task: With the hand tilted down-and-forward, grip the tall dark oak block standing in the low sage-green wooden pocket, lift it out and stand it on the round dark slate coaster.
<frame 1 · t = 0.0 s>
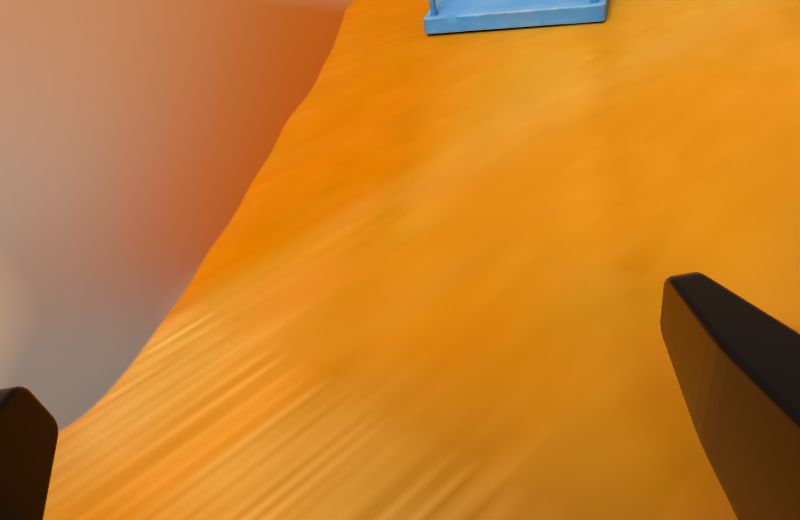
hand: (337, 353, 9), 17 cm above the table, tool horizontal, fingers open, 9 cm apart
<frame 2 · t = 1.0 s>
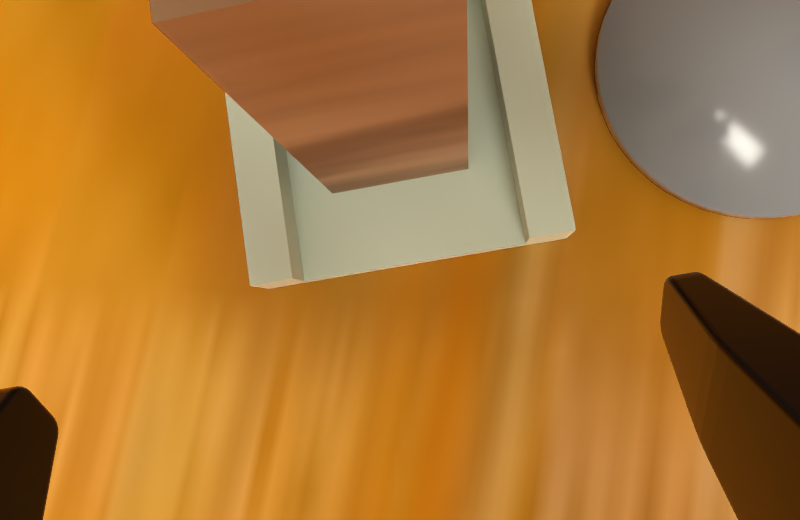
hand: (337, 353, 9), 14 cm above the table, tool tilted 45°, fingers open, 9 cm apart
oak block: (389, 115, 23), resting on pocket
slate coaster: (754, 65, 22), on the table
pocket: (390, 119, 23), on the table
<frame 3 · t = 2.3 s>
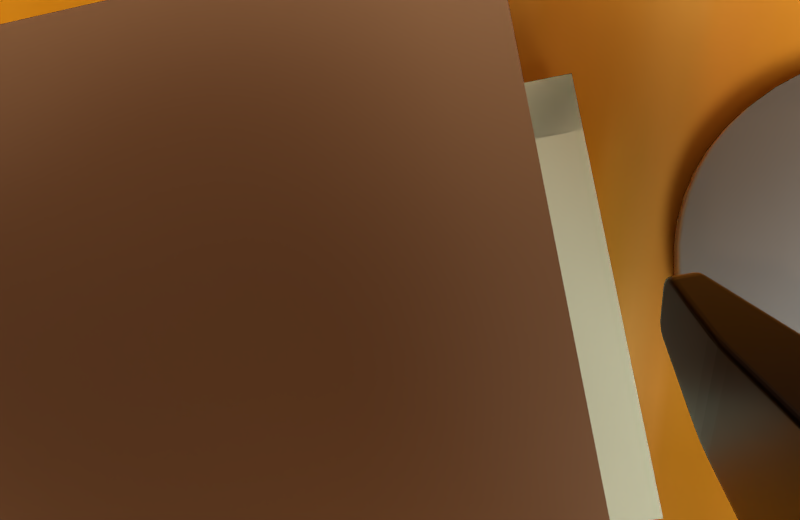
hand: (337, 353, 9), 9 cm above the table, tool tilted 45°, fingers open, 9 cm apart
oak block: (401, 323, 17), resting on pocket
pocket: (402, 323, 18), on the table
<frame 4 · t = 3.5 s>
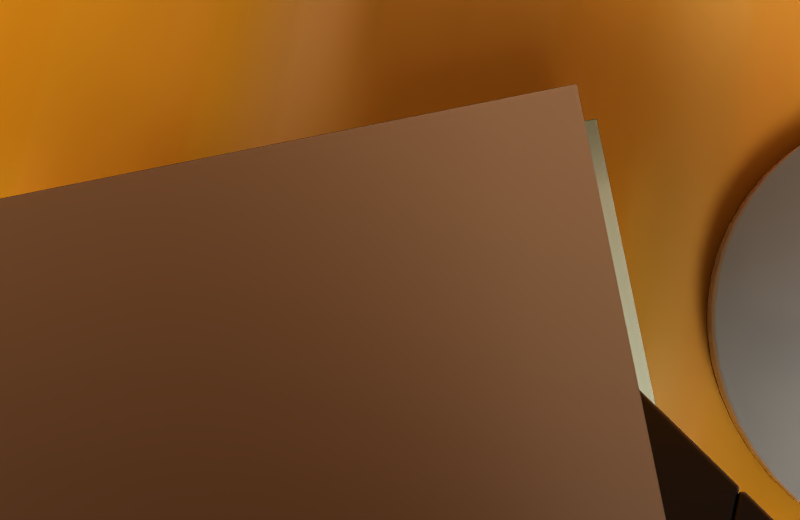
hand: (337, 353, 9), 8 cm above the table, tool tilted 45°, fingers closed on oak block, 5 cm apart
oak block: (405, 391, 15), resting on pocket, touching gripper
pocket: (407, 389, 16), on the table
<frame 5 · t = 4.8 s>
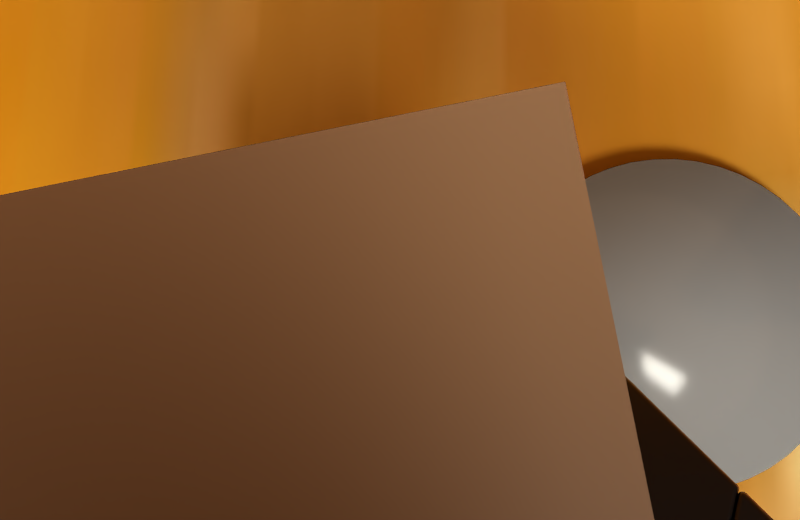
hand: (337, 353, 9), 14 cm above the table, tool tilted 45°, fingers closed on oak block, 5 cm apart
oak block: (403, 391, 15), point 6 cm above the table, touching gripper
slate coaster: (662, 321, 21), on the table
when the fingers open (8 cm above the table, at t = 6.5 s): oak block stays where it is, resting on slate coaster.
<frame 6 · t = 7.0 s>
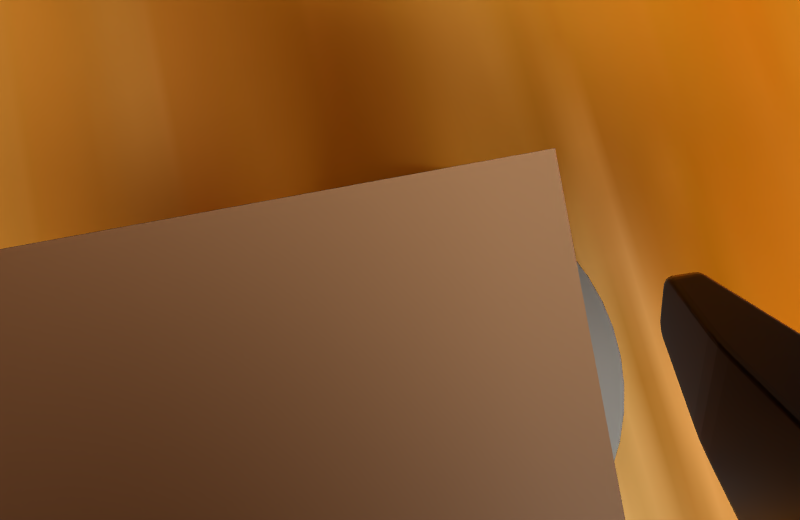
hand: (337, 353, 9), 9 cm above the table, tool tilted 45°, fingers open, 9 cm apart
oak block: (408, 387, 16), point 1 cm above the table, touching slate coaster
slate coaster: (410, 384, 17), on the table
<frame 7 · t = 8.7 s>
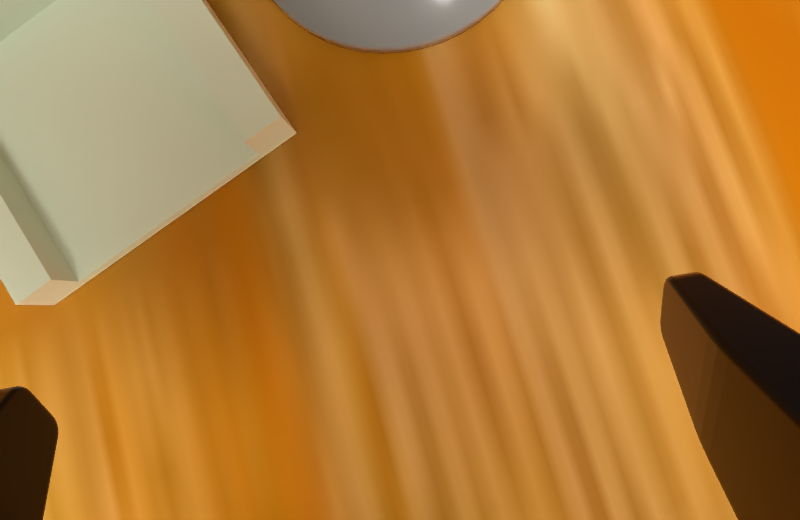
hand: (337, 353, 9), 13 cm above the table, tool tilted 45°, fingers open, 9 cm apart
pocket: (99, 101, 23), on the table
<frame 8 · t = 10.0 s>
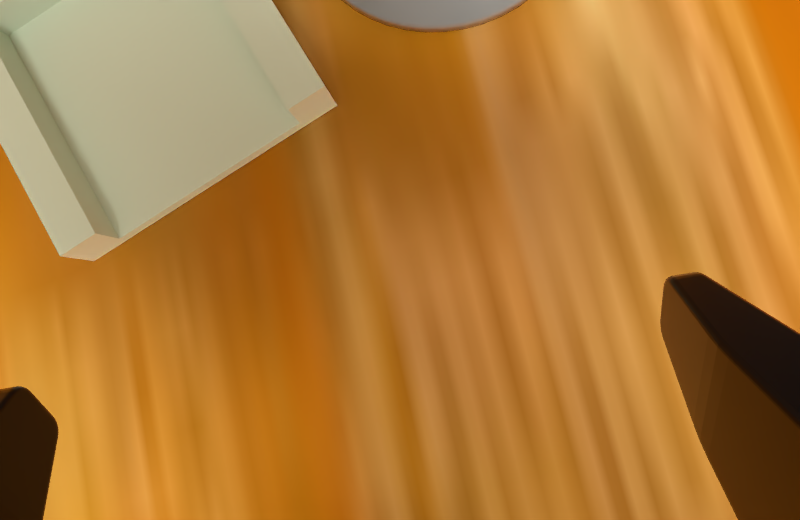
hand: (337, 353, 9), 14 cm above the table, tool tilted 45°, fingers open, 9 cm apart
pocket: (146, 67, 24), on the table
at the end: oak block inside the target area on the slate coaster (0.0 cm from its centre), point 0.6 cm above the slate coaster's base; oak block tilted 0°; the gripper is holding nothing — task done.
